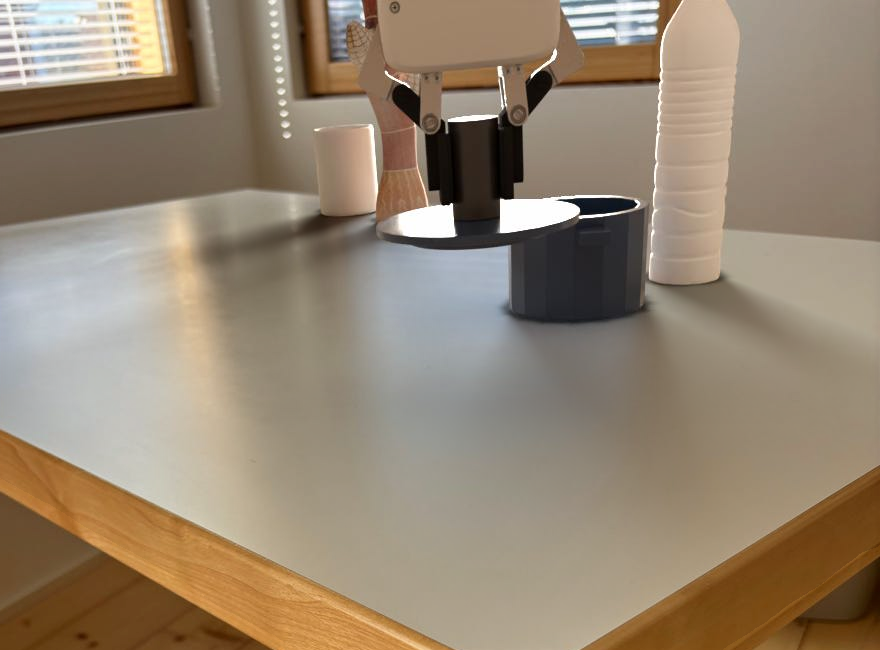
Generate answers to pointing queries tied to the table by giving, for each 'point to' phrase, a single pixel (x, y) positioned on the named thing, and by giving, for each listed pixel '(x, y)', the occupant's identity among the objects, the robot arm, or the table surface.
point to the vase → (390, 129)
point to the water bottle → (693, 142)
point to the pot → (583, 264)
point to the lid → (477, 201)
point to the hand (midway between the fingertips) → (475, 197)
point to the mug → (346, 169)
